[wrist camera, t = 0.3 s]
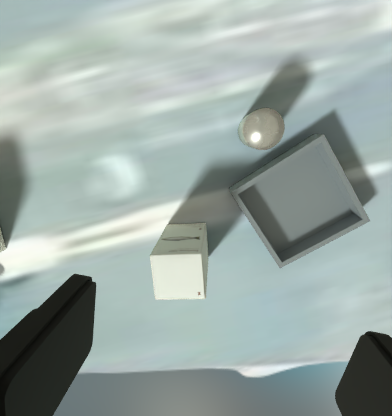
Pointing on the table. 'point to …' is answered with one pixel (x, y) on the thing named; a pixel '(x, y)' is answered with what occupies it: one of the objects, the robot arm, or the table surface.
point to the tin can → (261, 129)
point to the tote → (300, 200)
